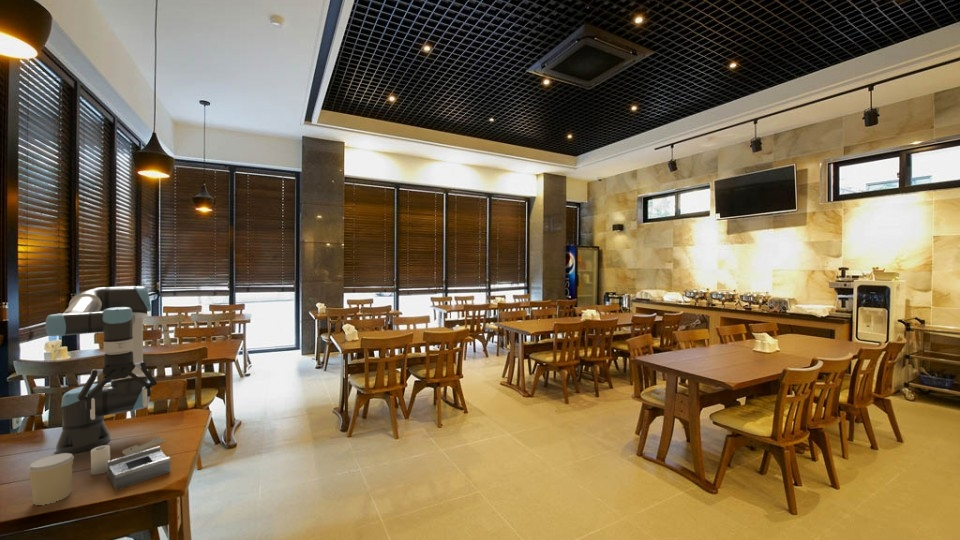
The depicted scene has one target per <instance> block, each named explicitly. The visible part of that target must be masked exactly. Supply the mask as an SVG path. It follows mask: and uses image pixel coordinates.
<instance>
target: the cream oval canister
mask: <svg viewBox="0 0 960 540" xmlns="http://www.w3.org/2000/svg"><path fill="white" fill-rule="evenodd" d="M74 459H75V456H74V455H73V453H61V454H58V453H56V454H51V455H48V456H45V457H42V458H38V459H37V460H35V461H33V462H32V463H30V465H29V466H28V471H29V477H30V486H31V494H32V501H33V502H32V503H33V504H36V505H35V506H37V505H42V506H46V505H45V504H47V505H51V504H54V503H57V502H60V501H62V500H64V499H65V498H68V496H69V495H70V494H72V493H71V491H72V484H73V483H72V482H73V468H74ZM59 500H60V501H59ZM56 501H57V502H56ZM50 503H51V504H50Z"/></svg>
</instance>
